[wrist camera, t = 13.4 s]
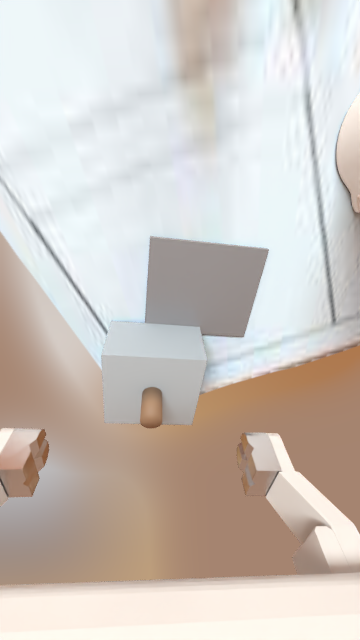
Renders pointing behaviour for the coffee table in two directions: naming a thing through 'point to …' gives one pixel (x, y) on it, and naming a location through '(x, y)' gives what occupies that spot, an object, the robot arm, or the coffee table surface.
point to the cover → (152, 373)
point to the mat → (202, 284)
